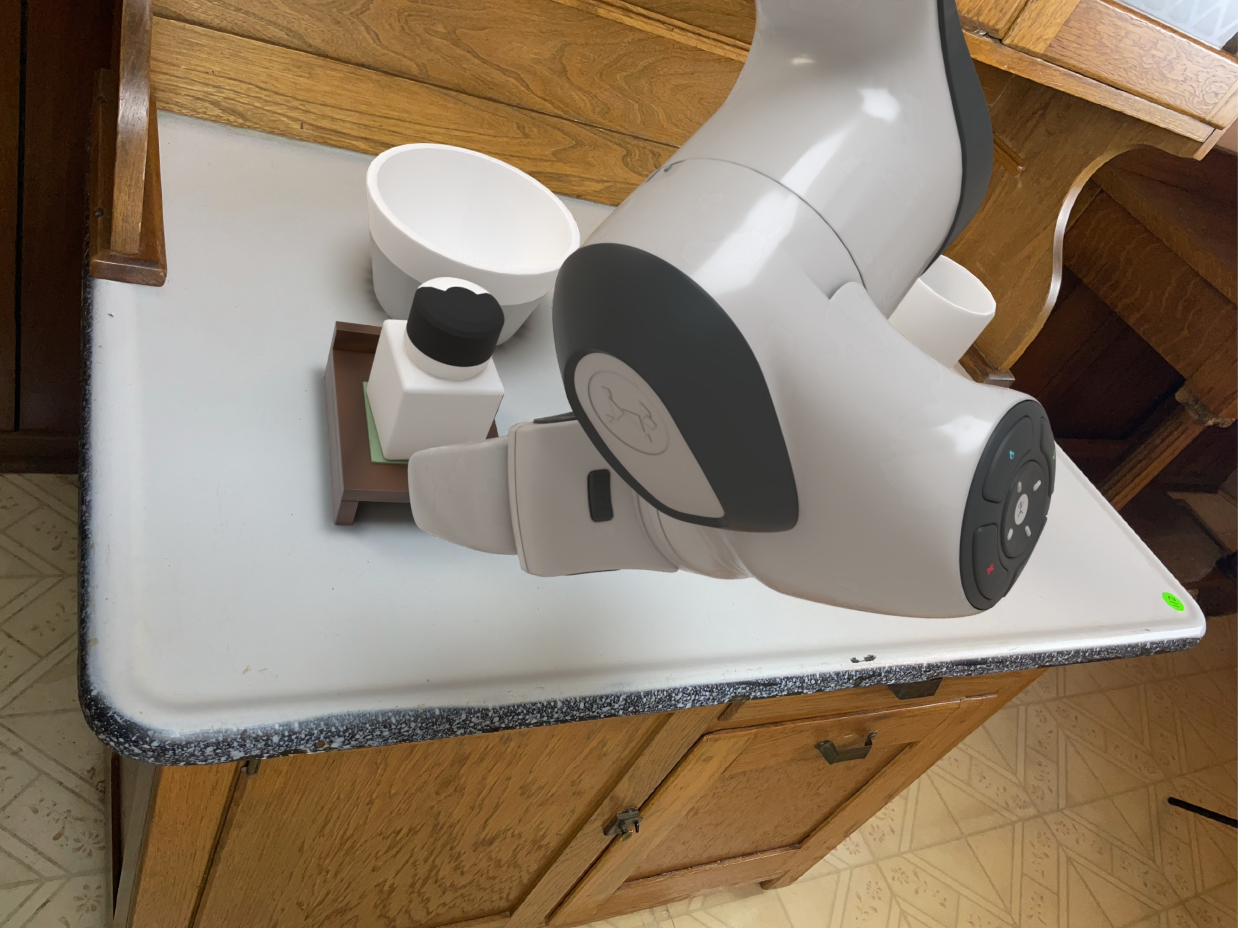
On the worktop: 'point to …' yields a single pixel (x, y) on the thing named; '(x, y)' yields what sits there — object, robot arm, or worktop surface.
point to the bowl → (463, 228)
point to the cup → (944, 311)
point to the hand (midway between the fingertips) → (530, 457)
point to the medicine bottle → (437, 370)
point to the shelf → (358, 427)
